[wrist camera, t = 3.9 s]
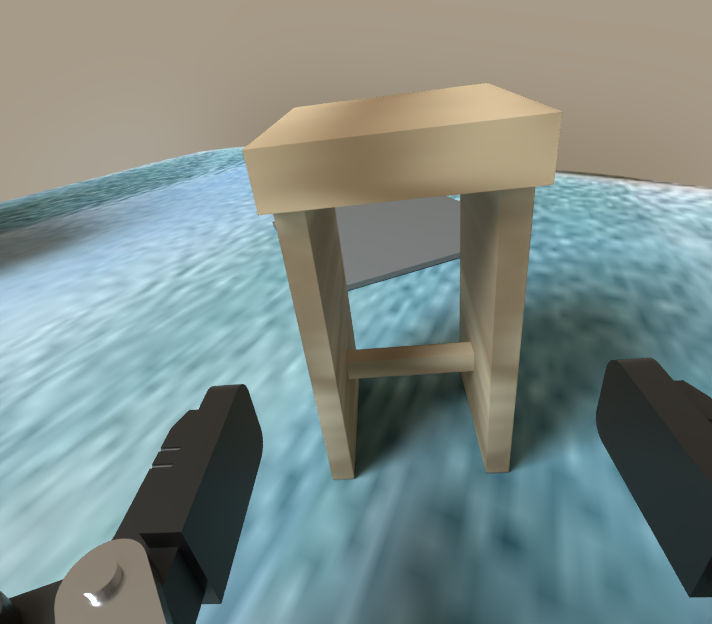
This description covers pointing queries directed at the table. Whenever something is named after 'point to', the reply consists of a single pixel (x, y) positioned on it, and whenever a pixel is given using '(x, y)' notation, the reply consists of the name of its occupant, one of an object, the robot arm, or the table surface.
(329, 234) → the pine stool
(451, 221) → the charcoal mat
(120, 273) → the table surface
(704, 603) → the table surface
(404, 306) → the table surface
